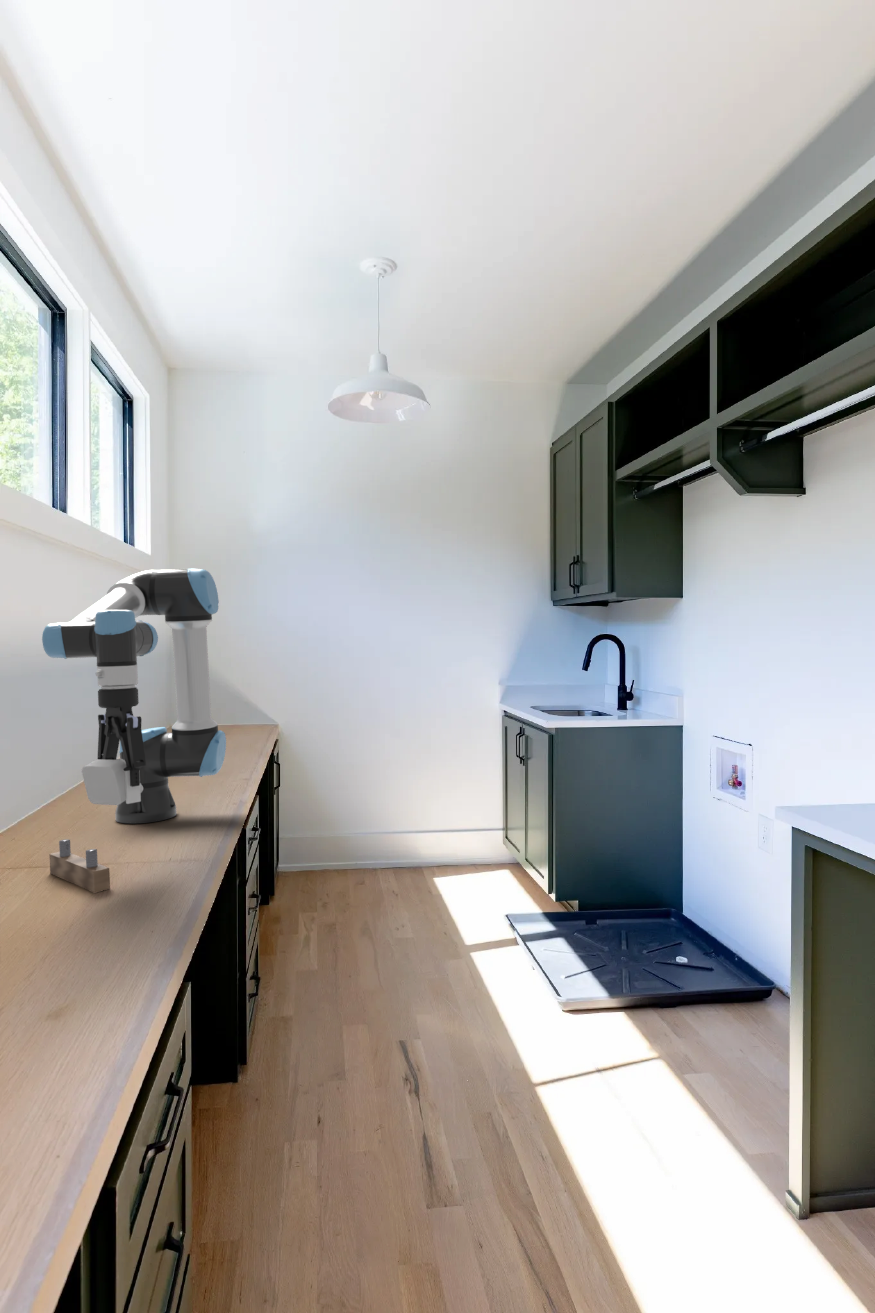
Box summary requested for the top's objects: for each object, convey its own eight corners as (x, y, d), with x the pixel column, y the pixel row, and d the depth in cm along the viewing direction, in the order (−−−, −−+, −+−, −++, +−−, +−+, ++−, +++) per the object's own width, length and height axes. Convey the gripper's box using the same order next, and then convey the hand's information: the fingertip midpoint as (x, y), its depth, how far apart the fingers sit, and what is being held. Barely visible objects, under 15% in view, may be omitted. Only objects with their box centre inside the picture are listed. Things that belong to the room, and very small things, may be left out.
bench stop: (50, 873, 165) (48, 839, 165) (65, 869, 167) (63, 836, 167) (94, 892, 151) (92, 855, 151) (110, 888, 153) (108, 852, 153)
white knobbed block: (157, 791, 169) (147, 746, 166) (124, 814, 159) (113, 767, 157) (125, 790, 171) (115, 746, 169) (91, 812, 162) (80, 766, 159)
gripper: (76, 687, 167) (81, 796, 168) (124, 690, 153) (129, 809, 154) (111, 684, 173) (116, 790, 174) (161, 687, 158) (166, 802, 159)
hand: (122, 799), depth 164 cm, fingers closed on white knobbed block, 8 cm apart
